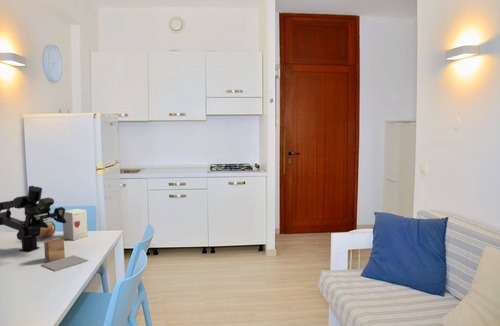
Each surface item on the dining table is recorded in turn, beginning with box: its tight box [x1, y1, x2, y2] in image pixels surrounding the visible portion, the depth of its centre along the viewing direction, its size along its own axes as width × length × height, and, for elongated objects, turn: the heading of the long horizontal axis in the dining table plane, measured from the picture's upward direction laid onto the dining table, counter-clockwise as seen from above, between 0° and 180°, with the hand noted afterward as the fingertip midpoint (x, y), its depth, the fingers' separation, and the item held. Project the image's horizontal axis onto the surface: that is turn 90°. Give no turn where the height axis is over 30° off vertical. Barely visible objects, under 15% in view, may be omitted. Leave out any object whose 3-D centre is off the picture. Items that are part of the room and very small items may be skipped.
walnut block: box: [43, 237, 66, 263], centre depth 181 cm, size 4×7×9 cm, turn 144°
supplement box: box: [62, 208, 88, 241], centre depth 216 cm, size 9×9×15 cm
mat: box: [40, 254, 89, 272], centre depth 176 cm, size 12×15×1 cm
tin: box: [36, 220, 56, 241], centre depth 216 cm, size 15×3×8 cm, turn 168°
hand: (56, 224), depth 184 cm, fingers open, 9 cm apart
